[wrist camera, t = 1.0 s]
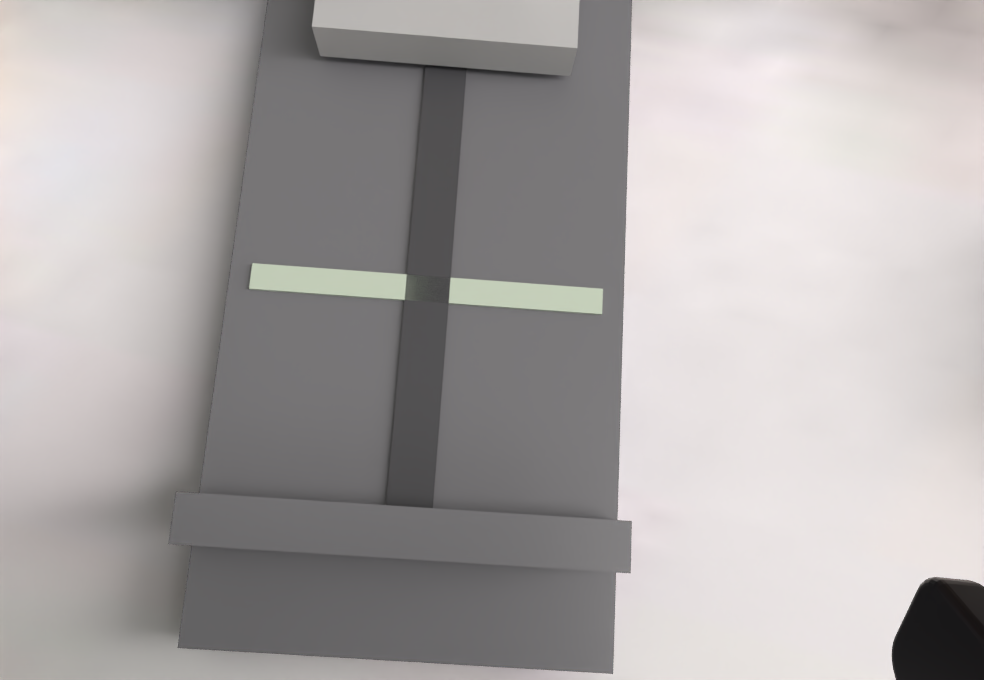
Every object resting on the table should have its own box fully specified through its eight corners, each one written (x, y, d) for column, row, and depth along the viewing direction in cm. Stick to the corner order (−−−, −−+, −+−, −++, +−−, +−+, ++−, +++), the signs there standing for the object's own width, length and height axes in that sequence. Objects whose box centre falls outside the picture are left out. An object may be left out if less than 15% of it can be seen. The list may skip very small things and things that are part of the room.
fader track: (600, 662, 19) (627, 686, 16) (199, 638, 19) (152, 659, 16) (626, -156, 24) (650, -251, 21) (309, -183, 23) (289, -285, 20)
